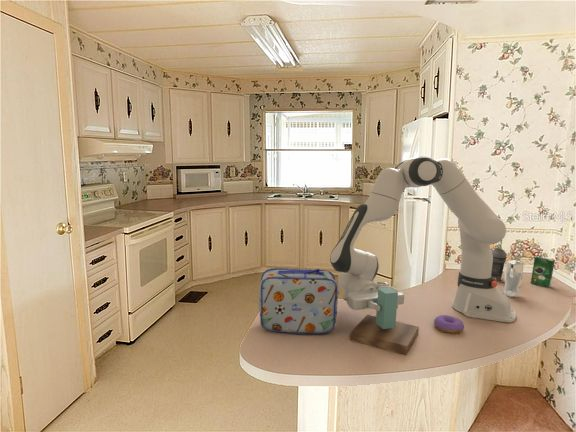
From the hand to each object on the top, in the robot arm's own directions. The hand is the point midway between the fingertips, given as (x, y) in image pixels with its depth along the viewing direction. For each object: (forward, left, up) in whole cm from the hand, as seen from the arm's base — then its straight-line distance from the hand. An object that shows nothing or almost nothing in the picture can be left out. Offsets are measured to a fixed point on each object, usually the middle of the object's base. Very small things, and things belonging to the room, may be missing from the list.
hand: (388, 307), depth 131 cm
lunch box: (+28, +9, -11) cm, 31 cm away
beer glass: (-34, -71, -11) cm, 79 cm away
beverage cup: (-27, -92, -11) cm, 96 cm away
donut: (-16, -20, -11) cm, 28 cm away
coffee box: (-46, -95, -11) cm, 106 cm away
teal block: (+1, -1, -6) cm, 7 cm away
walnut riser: (+1, -1, -11) cm, 11 cm away
